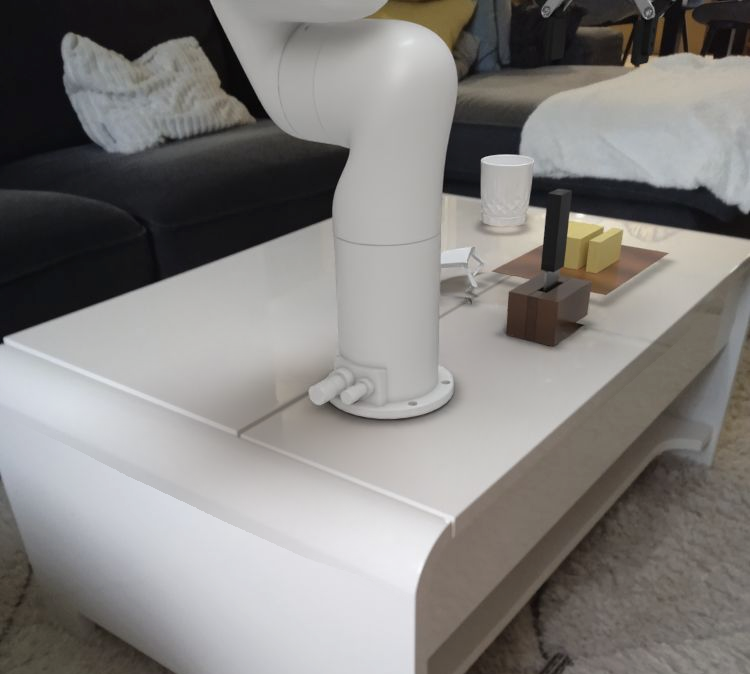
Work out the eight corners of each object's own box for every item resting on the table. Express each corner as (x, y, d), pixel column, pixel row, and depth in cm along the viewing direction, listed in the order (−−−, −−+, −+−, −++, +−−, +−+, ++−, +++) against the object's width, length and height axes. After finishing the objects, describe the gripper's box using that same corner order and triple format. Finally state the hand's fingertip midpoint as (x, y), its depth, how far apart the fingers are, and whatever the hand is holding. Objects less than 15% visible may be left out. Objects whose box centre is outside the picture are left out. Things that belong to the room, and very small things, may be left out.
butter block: (577, 270, 107) (580, 238, 105) (542, 263, 109) (545, 232, 107) (600, 256, 111) (604, 226, 109) (566, 250, 114) (569, 220, 112)
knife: (546, 335, 92) (560, 195, 84) (533, 331, 93) (546, 193, 85) (559, 326, 94) (573, 189, 86) (546, 323, 95) (559, 188, 87)
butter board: (604, 304, 100) (605, 294, 99) (490, 280, 108) (491, 270, 107) (667, 261, 113) (669, 252, 112) (561, 242, 121) (562, 234, 120)
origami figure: (466, 314, 98) (468, 274, 95) (403, 304, 101) (403, 264, 99) (503, 284, 107) (505, 246, 104) (444, 275, 110) (444, 238, 107)
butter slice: (596, 273, 105) (600, 242, 103) (585, 271, 106) (589, 240, 104) (619, 259, 110) (623, 229, 108) (608, 257, 111) (612, 227, 109)
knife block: (553, 346, 89) (558, 302, 87) (505, 334, 92) (508, 291, 90) (586, 324, 94) (591, 281, 92) (539, 313, 98) (543, 271, 95)
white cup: (527, 221, 131) (532, 154, 125) (530, 235, 124) (536, 165, 119) (477, 221, 132) (480, 154, 126) (477, 235, 125) (481, 165, 120)
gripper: (518, -139, 80) (505, 60, 89) (696, -155, 71) (661, 69, 80) (554, -134, 85) (538, 55, 94) (725, -148, 76) (688, 62, 85)
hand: (595, 61), depth 87 cm, fingers open, 9 cm apart
